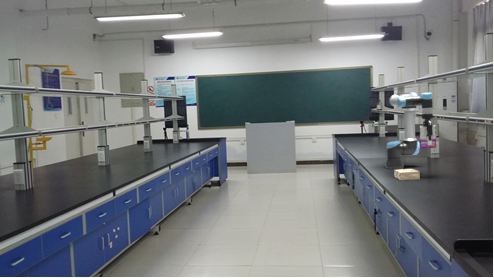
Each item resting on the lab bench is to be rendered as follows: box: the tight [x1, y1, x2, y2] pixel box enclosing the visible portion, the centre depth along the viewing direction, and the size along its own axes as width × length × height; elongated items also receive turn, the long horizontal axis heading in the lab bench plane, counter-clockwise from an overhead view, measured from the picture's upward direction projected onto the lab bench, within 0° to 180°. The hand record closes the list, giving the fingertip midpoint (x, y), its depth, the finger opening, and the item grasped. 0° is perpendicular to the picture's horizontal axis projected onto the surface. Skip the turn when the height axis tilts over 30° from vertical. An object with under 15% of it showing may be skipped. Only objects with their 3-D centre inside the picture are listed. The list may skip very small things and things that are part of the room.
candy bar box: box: [419, 125, 438, 149], centre depth 311 cm, size 11×5×16 cm, turn 65°
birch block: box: [393, 168, 421, 181], centre depth 314 cm, size 14×14×6 cm
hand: (428, 144), depth 312 cm, fingers closed on candy bar box, 6 cm apart
